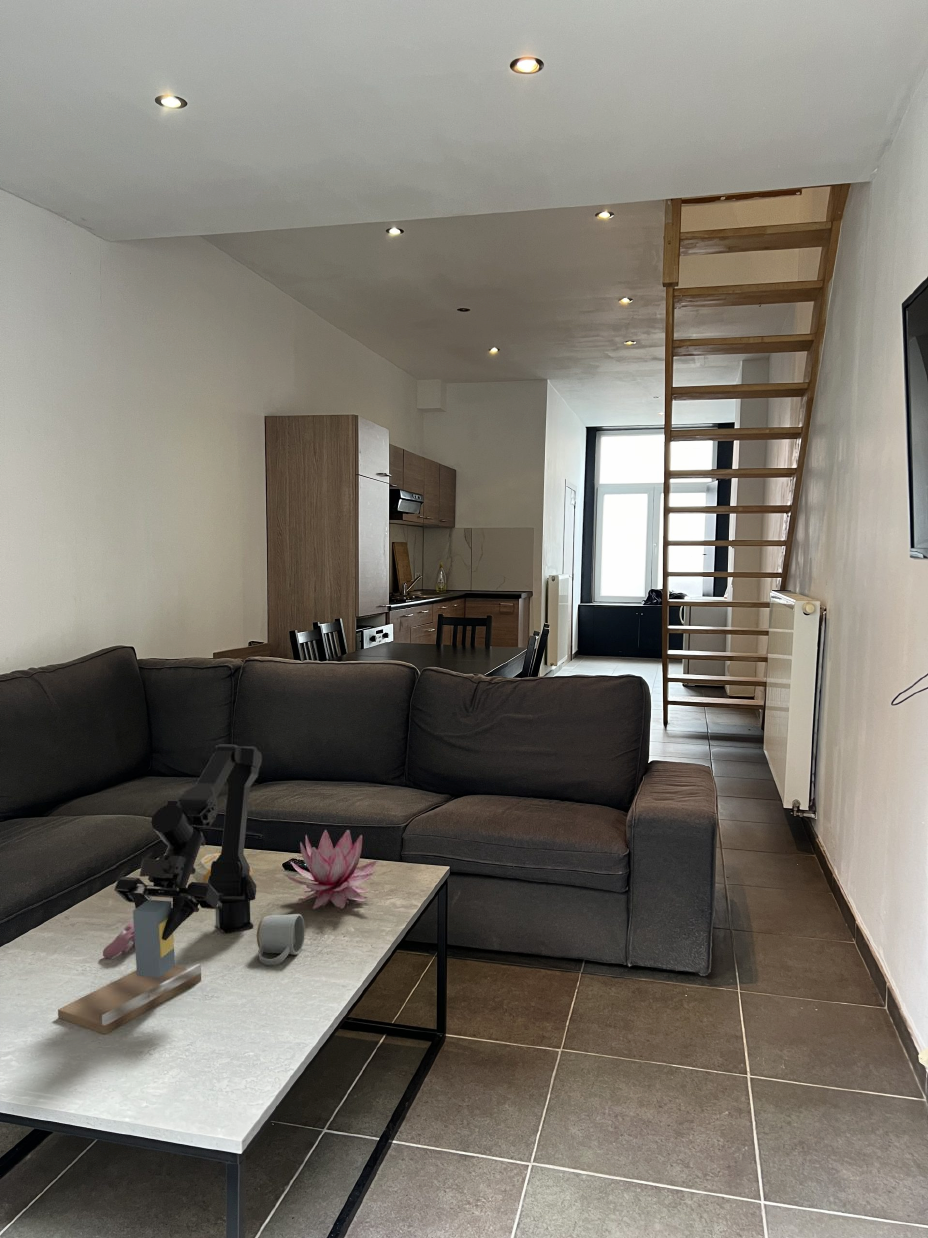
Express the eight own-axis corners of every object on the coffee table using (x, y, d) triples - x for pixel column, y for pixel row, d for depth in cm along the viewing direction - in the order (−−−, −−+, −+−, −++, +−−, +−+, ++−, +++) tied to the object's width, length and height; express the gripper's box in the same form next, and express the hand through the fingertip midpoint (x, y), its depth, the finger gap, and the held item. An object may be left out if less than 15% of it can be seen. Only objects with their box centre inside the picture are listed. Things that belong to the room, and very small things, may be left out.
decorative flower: (267, 904, 209) (265, 840, 208) (337, 879, 225) (335, 820, 224) (328, 927, 195) (326, 859, 194) (397, 898, 211) (396, 835, 210)
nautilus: (200, 873, 233) (259, 873, 234) (184, 898, 211) (249, 897, 213) (201, 842, 233) (260, 842, 234) (185, 864, 211) (250, 864, 213)
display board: (156, 967, 176) (155, 952, 176) (202, 981, 170) (201, 965, 170) (58, 1018, 157) (57, 1000, 157) (106, 1034, 151) (105, 1016, 151)
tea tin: (136, 975, 160) (132, 910, 159) (152, 963, 165) (148, 899, 164) (161, 978, 159) (157, 912, 158) (176, 965, 164) (172, 901, 163)
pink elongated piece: (117, 968, 180) (131, 938, 179) (99, 957, 180) (112, 927, 179) (144, 947, 189) (157, 919, 188) (126, 937, 190) (138, 909, 189)
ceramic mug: (268, 943, 187) (267, 907, 187) (306, 944, 186) (304, 908, 185) (249, 966, 177) (247, 928, 176) (289, 968, 175) (287, 930, 175)
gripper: (117, 834, 166) (82, 916, 156) (208, 840, 162) (178, 925, 152) (143, 861, 175) (112, 940, 165) (231, 867, 170) (204, 949, 161)
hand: (150, 938), depth 160 cm, fingers closed on tea tin, 5 cm apart
